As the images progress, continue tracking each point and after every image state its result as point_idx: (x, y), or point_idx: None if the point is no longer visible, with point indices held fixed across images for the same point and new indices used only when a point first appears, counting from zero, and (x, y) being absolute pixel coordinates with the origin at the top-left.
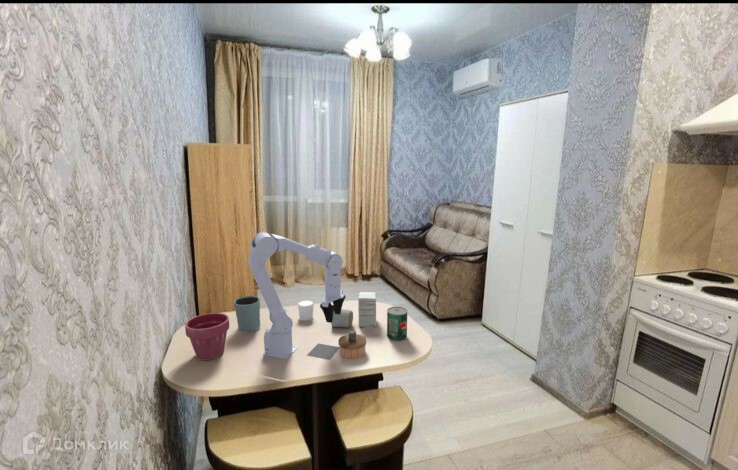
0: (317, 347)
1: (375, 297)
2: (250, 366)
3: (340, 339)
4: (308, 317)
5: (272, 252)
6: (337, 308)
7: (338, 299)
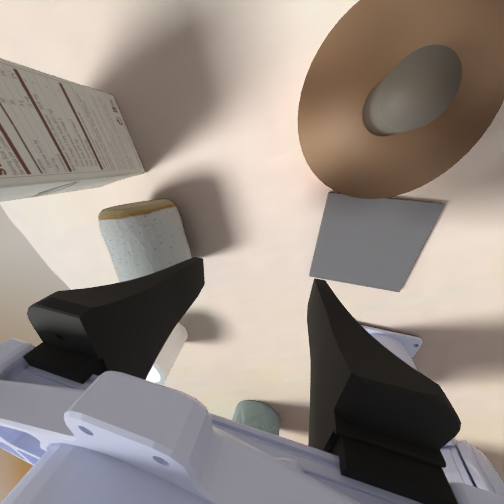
0: (339, 271)
1: None
2: (453, 399)
3: (377, 189)
4: (176, 330)
5: None
6: (182, 291)
7: (127, 340)
